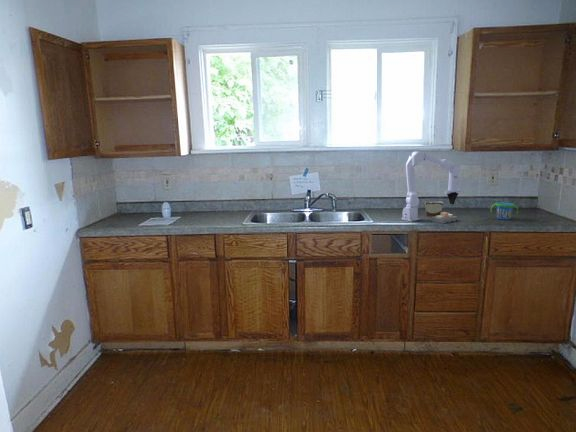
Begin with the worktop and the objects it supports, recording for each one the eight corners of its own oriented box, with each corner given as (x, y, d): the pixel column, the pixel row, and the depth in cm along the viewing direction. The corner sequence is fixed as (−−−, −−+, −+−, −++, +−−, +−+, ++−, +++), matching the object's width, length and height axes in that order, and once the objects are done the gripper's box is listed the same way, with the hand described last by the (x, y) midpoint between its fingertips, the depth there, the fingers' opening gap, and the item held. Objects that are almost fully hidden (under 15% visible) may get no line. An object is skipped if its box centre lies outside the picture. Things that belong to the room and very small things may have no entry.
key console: (442, 223, 240) (443, 219, 239) (430, 221, 247) (430, 217, 247) (457, 220, 248) (457, 216, 247) (445, 218, 255) (445, 214, 254)
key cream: (449, 220, 247) (449, 215, 247) (444, 219, 250) (444, 214, 250) (452, 219, 249) (452, 214, 249) (447, 218, 252) (448, 213, 251)
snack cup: (517, 218, 251) (518, 203, 249) (517, 221, 242) (519, 205, 240) (490, 216, 258) (491, 201, 256) (489, 219, 249) (490, 203, 247)
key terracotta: (444, 218, 245) (445, 213, 244) (440, 217, 248) (440, 212, 247) (448, 218, 246) (448, 212, 246) (443, 217, 249) (443, 212, 249)
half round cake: (440, 214, 266) (441, 200, 264) (442, 216, 260) (443, 202, 258) (421, 214, 268) (422, 200, 266) (423, 216, 262) (424, 202, 260)
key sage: (440, 222, 243) (440, 216, 242) (435, 221, 245) (435, 215, 245) (443, 221, 244) (443, 216, 244) (438, 220, 247) (439, 215, 247)
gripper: (451, 184, 241) (450, 206, 243) (465, 182, 248) (464, 203, 251) (442, 183, 247) (440, 204, 249) (456, 181, 254) (454, 202, 257)
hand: (451, 204), depth 251 cm, fingers closed
